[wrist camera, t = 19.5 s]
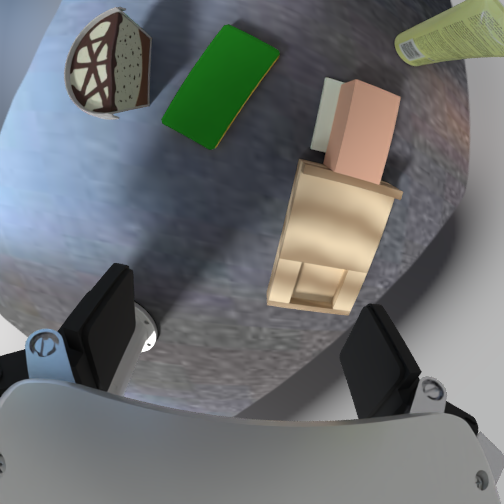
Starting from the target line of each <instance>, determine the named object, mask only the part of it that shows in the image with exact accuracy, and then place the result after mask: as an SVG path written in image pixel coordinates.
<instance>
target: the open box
mask: <svg viewBox="0 0 504 504" xmlns="http://www.w3.org/2000/svg"><path fill="white" fill-rule="evenodd" d="M402 194H403V192H402V191H401V190H399V189H397V188H396V187H394V186H392V185H391V184H389V183H387V182H384V181H380V184H379V185H378V184H375V183H371V182H368V181H365V180H361V179H358V178H354V177H351V176H347V175H344V174H340V173H336V172H334V171H333V170H331V169H330V168H328V167H327V166H326V165H324V164H320V163H316V162H312V161H307V160H303V159H299V161H298V165H297V170H296V174H295V179H294V183H293V187H292V192H291V196H290V200H289V204H288V209H287V213H286V217H285V221H284V225H283V230H282V234H281V238H280V242H279V246H278V250H277V254H276V258H275V262H274V266H273V270H272V274H271V278H270V282H269V286H268V289H267V305H271V306H278V307H285V308H292V309H299V310H307V311H315V312H323V313H332V314H340V315H349V313H350V311H351V309H352V306H353V304H354V302H355V300H356V298H357V295H358V293H359V291H360V289H361V286H362V284H363V282H364V279H365V277H366V275H367V272H368V270H369V267H370V265H371V262H372V260H373V257H374V255H375V252H376V250H377V247H378V244H379V242H380V239H381V236H382V234H383V231H384V228H385V225H386V222H387V219H388V216H389V213H390V210H391V207H392V204H393V201H394V198H396V199H399V200H401V197H402Z"/></svg>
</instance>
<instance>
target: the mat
mask: <svg viewBox="0 0 504 504" xmlns="http://www.w3.org/2000/svg"><path fill="white" fill-rule="evenodd" d="M342 84H345V83H343V82H340V81H337V80H334V79H330V78H327V77H326V78H325V80H324V85H323V90H322V95H321V100H320V104H319V109H318V114H317V119H316V123H315V128H314V132H313V137H312V142H311V146H310V149H313V150H317V151H321V152H325V153H326V150H327V146H328V142H329V138H330V133H331V129H332V125H333V120H334V116H335V111H336V107H337V102H338V97H339V93H340V88H341V85H342Z"/></svg>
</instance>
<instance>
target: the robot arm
mask: <svg viewBox="0 0 504 504" xmlns="http://www.w3.org/2000/svg"><path fill="white" fill-rule="evenodd" d="M157 335H158V333H157V327H156V324H155V322H154V320H153V319H152V317H151V316H150V315H149V313H148V312H147V311H146V310H145V309H144V308H142V307H141V306H140V305H139V304H137V303H135V302H134V285H133V271H132V270H130V269H129V266H128V265H124V264H119V263H114V264H113V265H112V266H111V267H110V268H109V269H108V270H107V272H106V273H105V274H104V275H103V276H102V278H101V279H100V280H99V281H98V282H97V284H96V285H95V286H94V287H93V288H92V290H91V291H89V292H88V293H87V294H86V295H85V296H84V298H83V299H82V300H81V301H80V303H79V304H78V305H77V306H76V308H75V309H74V310H73V312H72V313H71V314H70V316H69V317H68V318H67V319H66V321H65V322H64V324H63V325H62V326H61V328H60V329H59V330H58V332H57V331H55V330H53V329H40V330H37V331H35V332H34V333H32V334H31V335H30V336H29V337H28V339H27V341H26V344H25V349H24V350H21V351H17V352H13V353H10V354H6V355H2V356H0V504H501V502H500V498H499V495H498V491H497V488H496V483H497V481H498V479H499V477H500V475H501V472H502V470H503V468H504V455H503V454H502V452H501V451H500V450H499V449H498V448H497V447H496V446H495V445H494V444H493V443H492V442H491V441H490V440H489V439H488V438H487V437H485V435H484V434H482V432H479V433H478V425H477V422H476V420H475V418H474V417H473V416H471V415H469V414H468V413H466V412H464V411H463V410H461V409H459V408H457V407H455V406H454V405H452V404H450V403H449V402H447V401H446V397H447V392H446V389H445V387H444V386H443V385H442V383H441V382H439V381H438V380H437V379H435V378H432V377H423V378H422V379H419V377H418V376H419V375H420V374H421V370H420V368H419V366H418V365H417V363H416V361H415V359H414V357H413V356H412V354H411V352H410V350H409V349H408V347H407V345H406V344H405V342H404V340H403V339H402V337H401V335H400V333H399V332H398V330H397V329H396V327H395V325H394V324H393V322H392V320H391V319H390V317H389V316H388V314H387V312H386V311H385V309H384V308H383V306H382V305H379V304H368V305H367V306H365V307H363V309H362V311H361V313H360V315H359V317H358V319H357V321H356V323H355V325H354V327H353V329H352V331H351V333H350V335H349V337H348V339H347V341H346V343H345V345H344V347H343V349H342V350H341V353H340V361H341V364H342V367H343V370H344V374H345V376H346V380H347V383H348V386H349V389H350V392H351V396H352V399H353V402H354V405H355V409H356V412H357V415H358V418H359V419H354V420H341V421H271V420H255V419H242V418H233V417H224V416H216V415H209V414H202V413H196V412H190V411H184V410H179V409H174V408H169V407H164V406H159V405H155V404H151V403H146V402H142V401H138V400H134V399H130V398H126V397H124V395H125V392H126V389H127V387H128V384H129V382H130V379H131V377H132V374H133V372H134V369H135V367H136V364H137V362H138V359H139V357H140V354H141V352H144V351H147V350H149V349H151V348H152V347H153V346H154V344H155V342H156V340H157Z"/></svg>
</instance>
